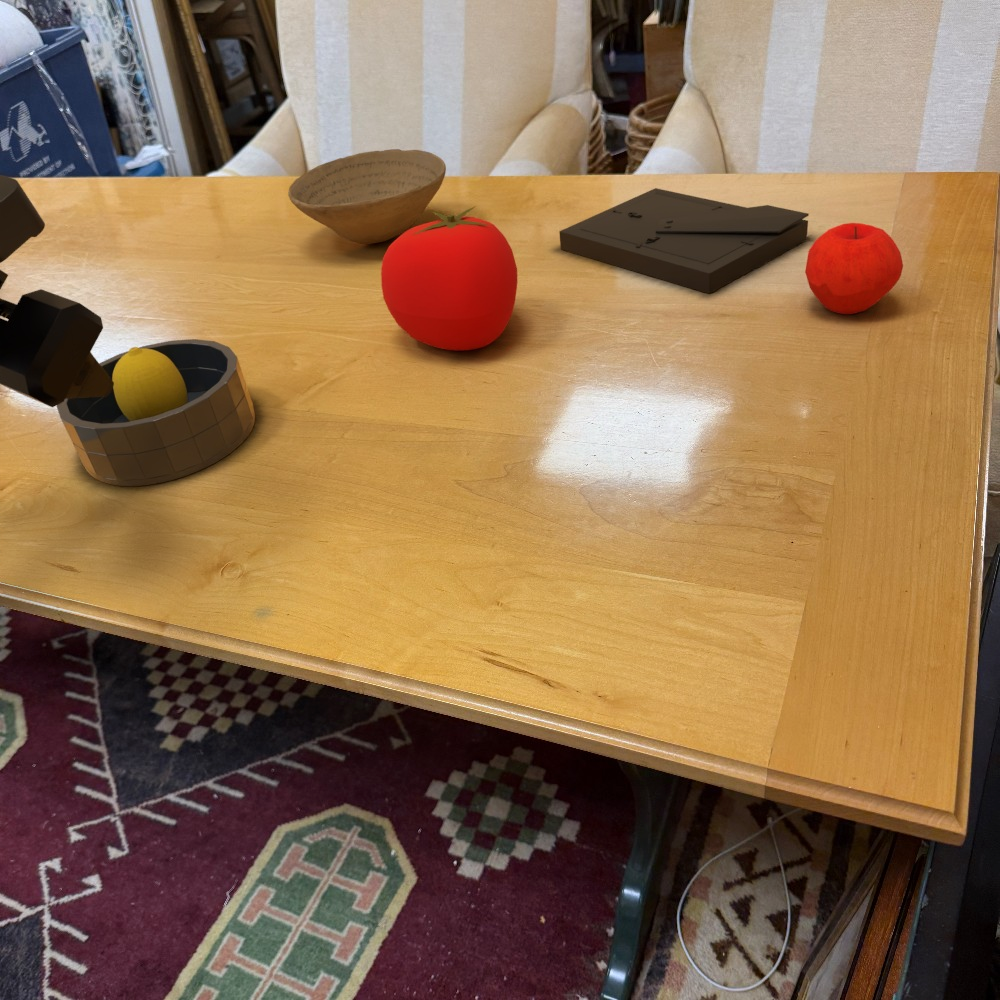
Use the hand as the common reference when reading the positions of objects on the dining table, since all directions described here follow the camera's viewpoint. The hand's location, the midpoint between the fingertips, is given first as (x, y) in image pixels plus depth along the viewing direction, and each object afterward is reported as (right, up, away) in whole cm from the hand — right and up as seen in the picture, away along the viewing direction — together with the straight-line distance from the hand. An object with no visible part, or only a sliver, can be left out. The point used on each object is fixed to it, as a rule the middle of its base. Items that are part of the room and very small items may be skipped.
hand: (63, 370), depth 65 cm
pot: (+3, -4, +14) cm, 14 cm away
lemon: (+3, -4, +13) cm, 14 cm away
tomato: (+27, +6, +22) cm, 36 cm away
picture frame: (+50, +18, +33) cm, 63 cm away
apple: (+62, +8, +17) cm, 65 cm away
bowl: (+16, +23, +47) cm, 54 cm away
